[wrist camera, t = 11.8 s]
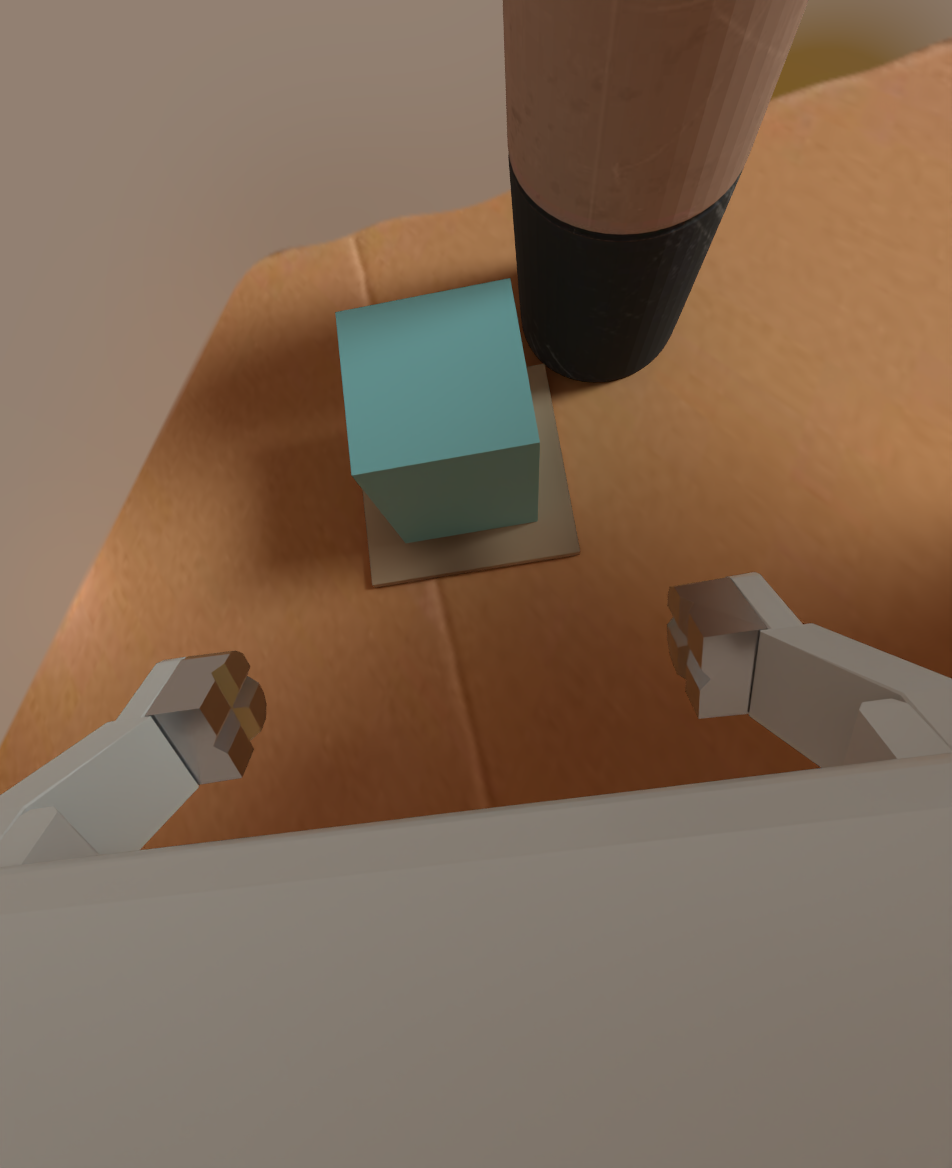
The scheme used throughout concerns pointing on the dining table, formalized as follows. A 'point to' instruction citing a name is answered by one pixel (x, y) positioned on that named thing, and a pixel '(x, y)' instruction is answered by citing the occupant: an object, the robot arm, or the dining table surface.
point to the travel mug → (627, 161)
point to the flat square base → (491, 546)
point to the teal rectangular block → (441, 411)
